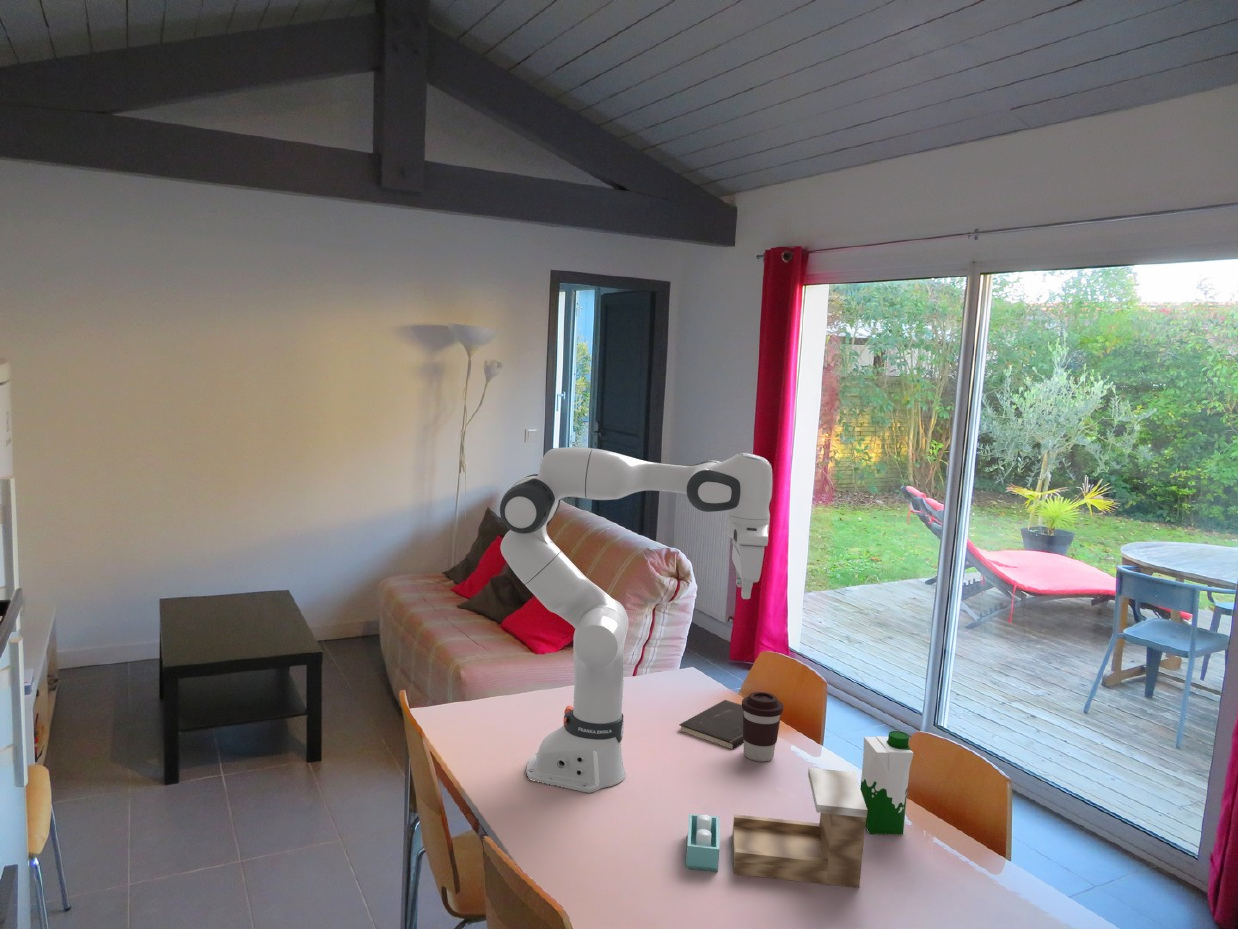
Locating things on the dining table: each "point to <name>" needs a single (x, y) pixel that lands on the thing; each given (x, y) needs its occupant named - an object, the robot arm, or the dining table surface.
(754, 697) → the coffee cup
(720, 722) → the hardcover book
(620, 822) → the dining table surface
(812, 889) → the dining table surface
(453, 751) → the dining table surface
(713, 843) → the tray
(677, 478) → the robot arm
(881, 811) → the milk carton
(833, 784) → the counter
